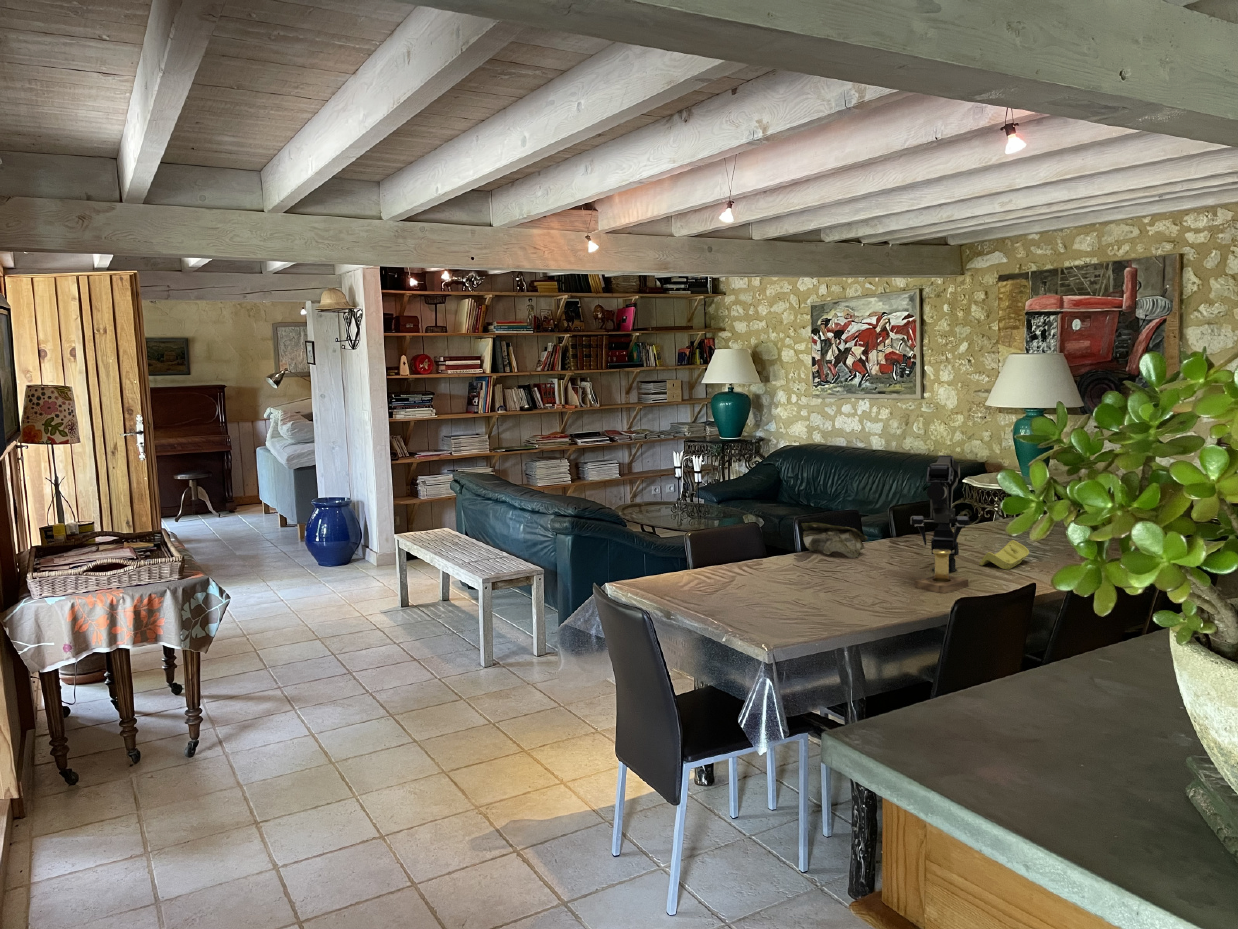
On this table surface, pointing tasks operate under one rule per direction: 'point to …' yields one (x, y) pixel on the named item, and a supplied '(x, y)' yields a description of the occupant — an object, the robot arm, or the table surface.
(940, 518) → the robot arm
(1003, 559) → the plastic component
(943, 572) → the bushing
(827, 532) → the hollow geode rock
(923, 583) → the jig
